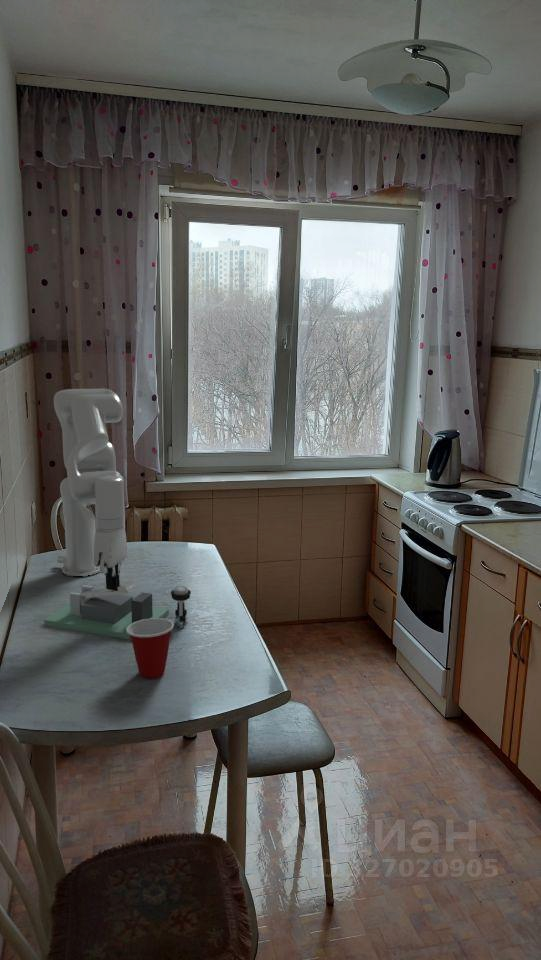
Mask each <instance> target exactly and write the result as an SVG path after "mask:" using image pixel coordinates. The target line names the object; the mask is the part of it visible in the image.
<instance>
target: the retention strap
mask: <svg viewBox="0 0 541 960" xmlns="http://www.w3.org/2000/svg"><path fill="white" fill-rule="evenodd" d="M136 588H137V587H136V584H135V581H134V580H129V581H125V582H123V583H122V584H120V586H118V589H117V590H108V589H106V587H104V588H97V589H93V590H85V591H83V592H82V591H81V592H80V593H81V597H82V599H85V598H93V597H102V596H110V595H127V594H130V593H131V592H133V591H134V590H135V589H136Z"/></svg>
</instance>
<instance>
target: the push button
mask: <svg viewBox="0 0 541 960" xmlns="http://www.w3.org/2000/svg"><path fill="white" fill-rule="evenodd" d="M191 593H192V592H191V590H190V589H188V587H187V586H184V585H180V586H176V587H174V588H173V589H172V590H171V591H170V595H171V598H172V600H173V601H176V602H177V603H176V604H177V606H176V609H175V612H174V613H175V614H174V615H175V624H177V627H178V628H180V629H181V628H183V627H185V624H187V623H188V621H187V618H188V617H187V612H188V611H187V609H186V608H185V601H187V600H189V599H190V598H191Z"/></svg>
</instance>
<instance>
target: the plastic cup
mask: <svg viewBox="0 0 541 960" xmlns="http://www.w3.org/2000/svg"><path fill="white" fill-rule="evenodd" d="M174 627H175V624H174V622H173V621H172V620H170V619H168V618H164V619H162V618H150V619H143V620H140V621H136V622H134V623H132V624H130V625H129V626H128V627H127V628H126V630H127V633H128V634H129V636H130V638H131V640H130V641H131V644H132V649H133V653H134V656H135V657H134V658H135V662H136V666H137V669H138V670H137V671H138V674H139V676H140V677H141V678H142V679H146V680H156V679H158V678H160V677H162V676H163V675H164V674H165V671H166V665H167V660H168V655H169V650H170V649H169V647H170V642H171V638H172V637H171V636H172V631H173V628H174Z"/></svg>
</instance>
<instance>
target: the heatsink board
mask: <svg viewBox="0 0 541 960" xmlns="http://www.w3.org/2000/svg"><path fill="white" fill-rule="evenodd" d="M85 590H94V586H93V585H88V584H87V585H86V584H83V585H81V592H73V591H71V592H70V593H69V603H68V604H66V605H65V606H63V607H62V608H60V609H59V610H57V611H55V612H54V613H52V614H51V615H50V616H47V617H46V618H44V620H43V622H44V624H43V625H44V626H49V627H54V628H61V629H66V630H72V631H77V632H84V633H89V634H90V633H91V634H96V635H101V636H107V637H114V638H120V639H125V640H130V641H131V638H130V636H129V634H128V633H127V630H126V628H127V627H128V626H129V625H130V624H132V623H134V622H136V621H140V620H143V619H150V618H162V619H166V617H168V616H169V615H170V609H169V608H165V607H164V608H163V607H158V606H157V607H156V606H153V594H152V593H149V592H141V593H140V594H137V596H135V597H134V596H132V595H127V594H119V595H110V596H102V597H93V598H85V599H82V597H81V593H82V592H83V591H85Z"/></svg>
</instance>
